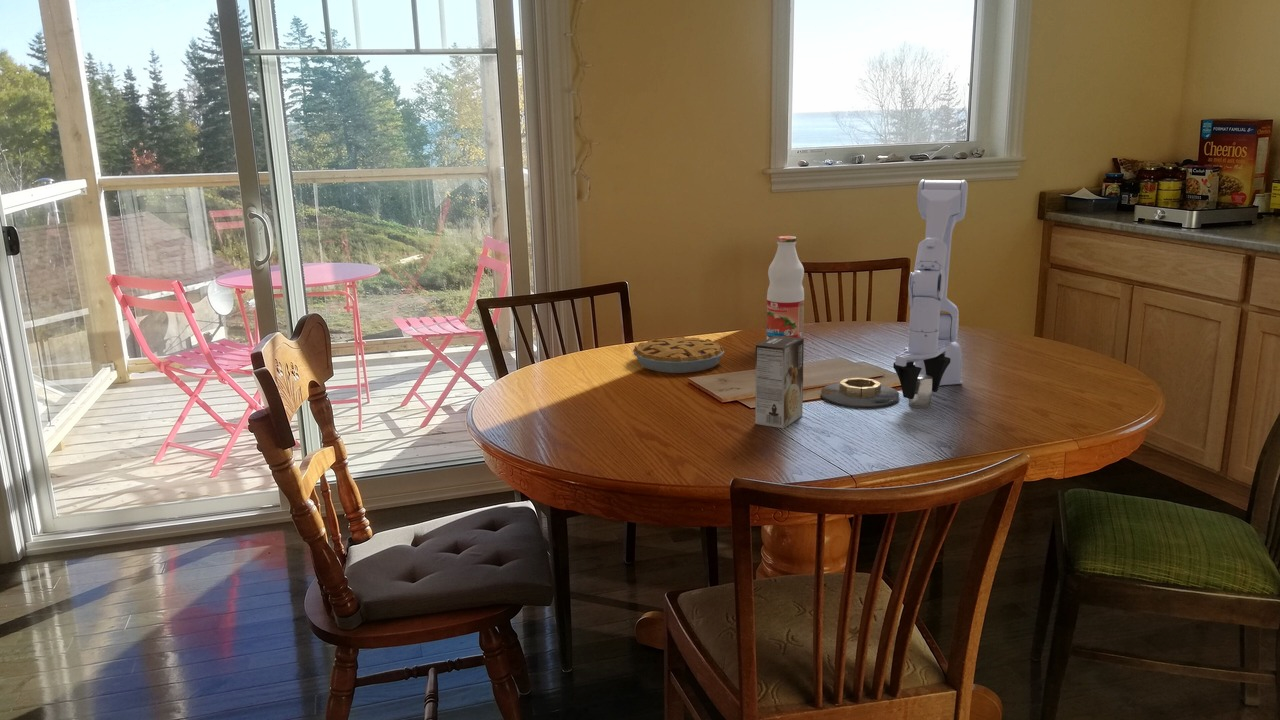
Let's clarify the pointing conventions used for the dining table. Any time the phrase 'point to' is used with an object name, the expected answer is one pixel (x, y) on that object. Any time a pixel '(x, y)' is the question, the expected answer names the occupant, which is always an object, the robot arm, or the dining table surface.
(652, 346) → the pie
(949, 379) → the robot arm
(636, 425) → the dining table surface
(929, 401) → the piston
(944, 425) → the dining table surface
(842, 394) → the ring collar
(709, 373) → the dining table surface
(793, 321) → the fruit juice
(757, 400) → the coffee box
